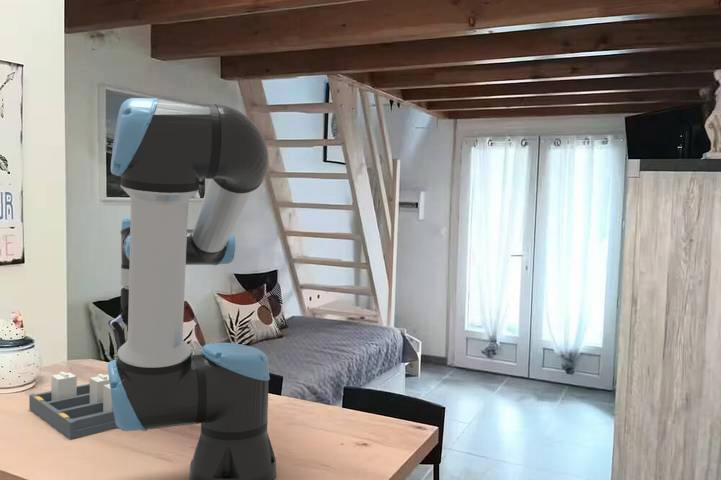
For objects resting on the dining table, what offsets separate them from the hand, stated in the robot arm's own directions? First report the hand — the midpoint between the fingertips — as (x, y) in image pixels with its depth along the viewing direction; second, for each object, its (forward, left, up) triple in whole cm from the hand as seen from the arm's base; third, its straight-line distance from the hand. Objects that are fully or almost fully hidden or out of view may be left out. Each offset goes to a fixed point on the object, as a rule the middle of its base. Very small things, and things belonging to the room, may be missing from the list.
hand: (138, 391), depth 137 cm
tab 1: (0, +5, -4) cm, 6 cm away
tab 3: (+14, +11, -4) cm, 18 cm away
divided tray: (+7, +9, -5) cm, 13 cm away
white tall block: (+7, +5, -4) cm, 9 cm away
